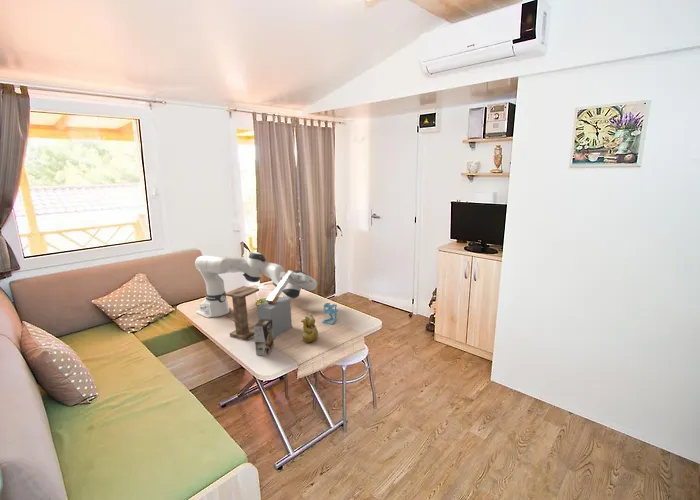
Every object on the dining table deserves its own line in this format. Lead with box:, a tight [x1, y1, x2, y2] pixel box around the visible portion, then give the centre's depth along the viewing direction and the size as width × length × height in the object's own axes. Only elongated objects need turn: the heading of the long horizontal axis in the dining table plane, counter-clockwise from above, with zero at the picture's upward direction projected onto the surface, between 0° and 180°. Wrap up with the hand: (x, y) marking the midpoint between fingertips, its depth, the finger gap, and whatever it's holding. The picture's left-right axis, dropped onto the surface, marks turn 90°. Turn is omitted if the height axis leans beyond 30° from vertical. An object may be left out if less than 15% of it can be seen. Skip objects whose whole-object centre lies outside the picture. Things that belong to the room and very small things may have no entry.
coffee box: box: [253, 319, 275, 356], centre depth 183 cm, size 9×6×16 cm
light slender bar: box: [265, 270, 294, 304], centre depth 207 cm, size 4×24×3 cm
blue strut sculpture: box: [321, 302, 339, 326], centre depth 217 cm, size 8×8×12 cm
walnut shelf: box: [225, 285, 260, 342], centre depth 202 cm, size 12×14×26 cm
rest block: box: [256, 296, 293, 339], centre depth 205 cm, size 10×17×18 cm, turn 152°
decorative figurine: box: [300, 312, 319, 344], centre depth 193 cm, size 10×8×15 cm
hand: (288, 274), depth 212 cm, fingers closed on light slender bar, 3 cm apart
